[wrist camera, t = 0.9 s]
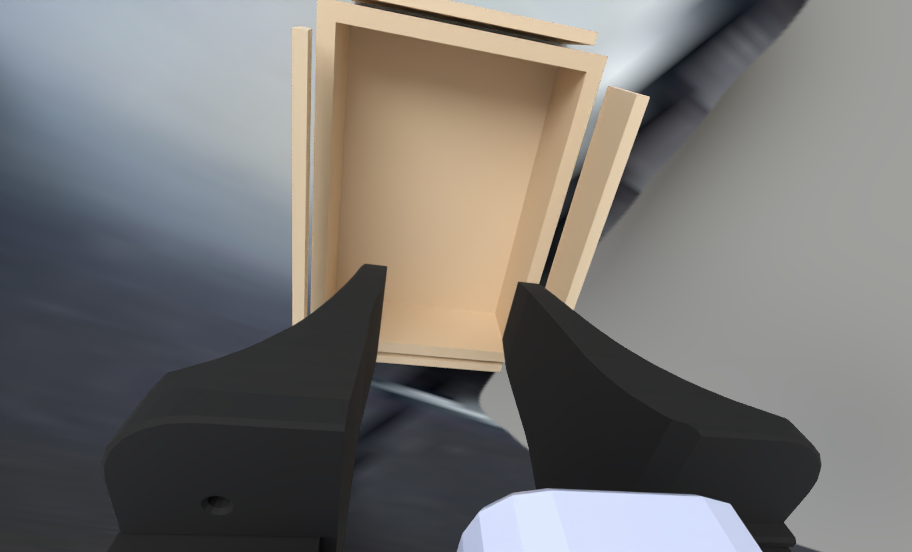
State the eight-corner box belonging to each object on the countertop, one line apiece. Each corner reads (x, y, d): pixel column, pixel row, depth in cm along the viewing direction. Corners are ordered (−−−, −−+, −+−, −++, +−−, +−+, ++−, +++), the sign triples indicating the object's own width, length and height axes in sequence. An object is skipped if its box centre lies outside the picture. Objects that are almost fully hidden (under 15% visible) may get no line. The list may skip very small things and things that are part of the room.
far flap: (522, 360, 21) (529, 362, 21) (526, 416, 17) (535, 417, 17) (607, 85, 15) (618, 88, 15) (636, 94, 12) (649, 96, 12)
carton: (500, 327, 26) (514, 373, 22) (325, 310, 24) (309, 356, 21) (579, 36, 19) (617, 36, 15) (337, -14, 17) (317, -28, 14)
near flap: (303, 401, 16) (292, 402, 16) (306, 341, 19) (297, 341, 19) (307, 30, 11) (292, 27, 10) (311, 28, 14) (299, 25, 13)
